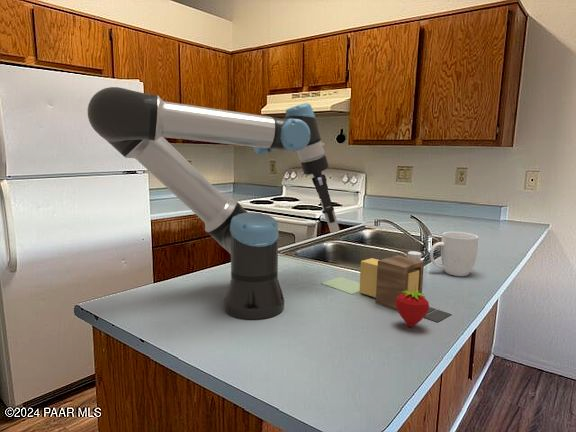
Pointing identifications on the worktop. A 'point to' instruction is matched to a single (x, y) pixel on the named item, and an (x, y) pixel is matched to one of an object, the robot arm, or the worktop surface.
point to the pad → (343, 285)
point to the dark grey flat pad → (436, 315)
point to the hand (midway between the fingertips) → (332, 224)
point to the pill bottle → (414, 255)
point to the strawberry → (412, 307)
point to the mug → (457, 252)
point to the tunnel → (395, 278)
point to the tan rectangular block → (370, 278)
